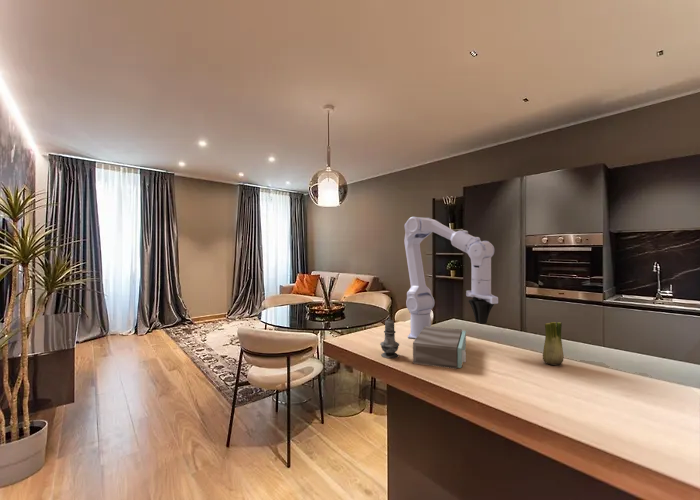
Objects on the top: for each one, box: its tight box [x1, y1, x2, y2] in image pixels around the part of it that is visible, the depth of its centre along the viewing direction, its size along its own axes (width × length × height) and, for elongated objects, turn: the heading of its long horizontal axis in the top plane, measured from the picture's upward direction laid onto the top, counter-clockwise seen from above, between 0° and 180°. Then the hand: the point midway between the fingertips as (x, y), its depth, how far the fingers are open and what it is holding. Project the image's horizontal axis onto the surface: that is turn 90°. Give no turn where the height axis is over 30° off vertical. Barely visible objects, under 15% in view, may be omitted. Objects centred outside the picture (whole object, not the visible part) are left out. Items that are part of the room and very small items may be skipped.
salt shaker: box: [379, 316, 400, 360], centre depth 100 cm, size 6×6×12 cm
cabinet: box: [412, 326, 463, 370], centre depth 101 cm, size 20×12×6 cm, turn 157°
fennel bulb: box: [542, 321, 565, 366], centre depth 92 cm, size 6×5×12 cm
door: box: [457, 329, 467, 369], centre depth 98 cm, size 20×2×5 cm, turn 157°
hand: (481, 322), depth 102 cm, fingers closed
